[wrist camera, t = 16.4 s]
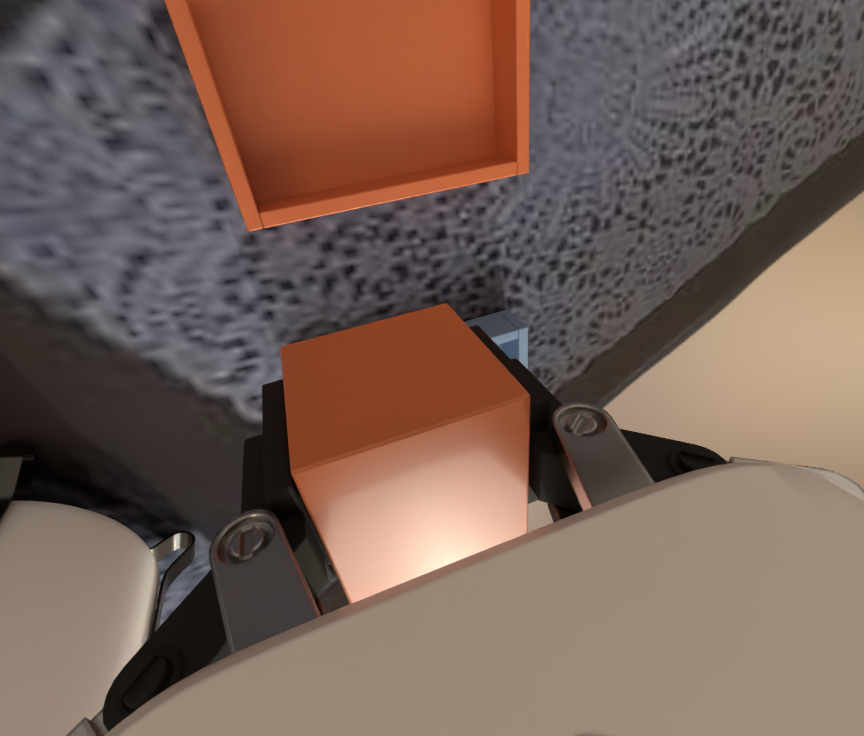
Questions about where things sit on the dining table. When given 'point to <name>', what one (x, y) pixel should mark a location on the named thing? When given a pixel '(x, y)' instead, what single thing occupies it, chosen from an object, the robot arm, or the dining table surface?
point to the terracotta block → (406, 446)
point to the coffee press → (69, 603)
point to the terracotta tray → (358, 98)
